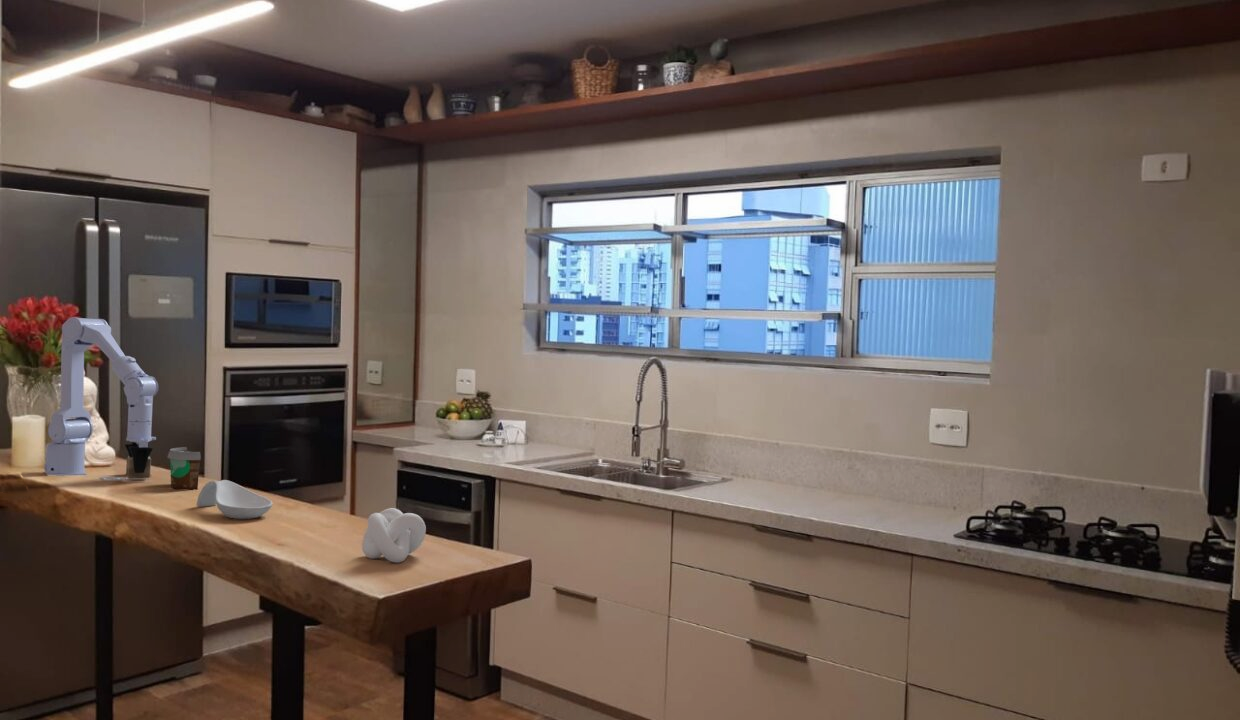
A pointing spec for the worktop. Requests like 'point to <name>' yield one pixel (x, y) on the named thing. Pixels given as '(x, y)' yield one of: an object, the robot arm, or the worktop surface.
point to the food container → (184, 468)
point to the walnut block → (131, 473)
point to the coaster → (137, 480)
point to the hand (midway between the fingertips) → (137, 471)
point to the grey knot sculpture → (393, 535)
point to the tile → (112, 478)
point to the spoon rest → (233, 500)
